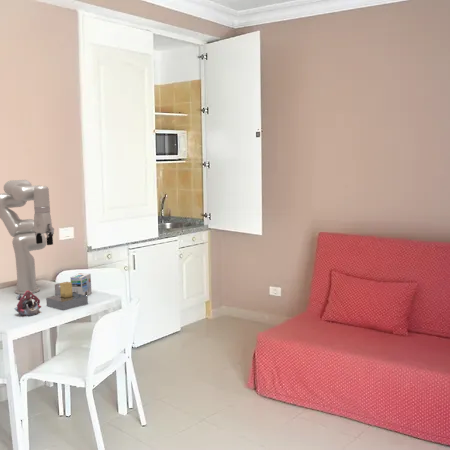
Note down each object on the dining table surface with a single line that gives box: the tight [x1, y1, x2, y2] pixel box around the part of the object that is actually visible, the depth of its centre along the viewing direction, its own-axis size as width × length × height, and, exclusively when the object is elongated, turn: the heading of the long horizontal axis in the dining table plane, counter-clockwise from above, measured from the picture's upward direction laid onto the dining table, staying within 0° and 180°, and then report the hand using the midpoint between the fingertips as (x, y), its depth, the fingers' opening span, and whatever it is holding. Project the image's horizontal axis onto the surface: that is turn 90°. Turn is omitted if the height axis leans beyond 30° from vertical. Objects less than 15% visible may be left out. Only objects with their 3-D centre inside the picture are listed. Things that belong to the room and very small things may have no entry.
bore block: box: [45, 293, 89, 311], centre depth 271 cm, size 14×14×4 cm
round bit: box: [54, 282, 61, 296], centre depth 290 cm, size 6×6×6 cm
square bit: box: [59, 281, 73, 299], centre depth 271 cm, size 4×4×11 cm
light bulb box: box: [69, 273, 93, 296], centre depth 290 cm, size 11×7×11 cm, turn 168°
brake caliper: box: [13, 290, 42, 317], centre depth 257 cm, size 11×11×12 cm
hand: (44, 244), depth 282 cm, fingers open, 9 cm apart
